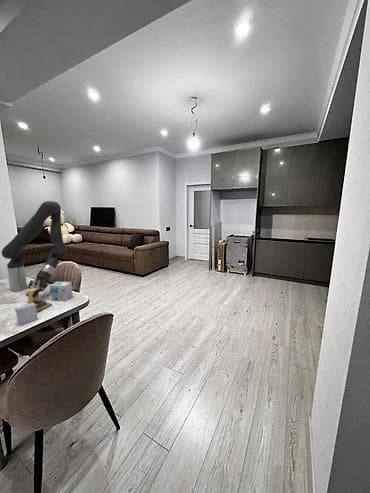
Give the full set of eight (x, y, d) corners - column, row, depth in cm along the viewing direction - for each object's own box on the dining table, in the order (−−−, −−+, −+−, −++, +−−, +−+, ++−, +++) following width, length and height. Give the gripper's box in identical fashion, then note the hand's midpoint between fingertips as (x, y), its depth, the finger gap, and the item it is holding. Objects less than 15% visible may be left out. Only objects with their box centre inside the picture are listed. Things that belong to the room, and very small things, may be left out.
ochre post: (28, 302, 126) (27, 290, 125) (35, 299, 130) (33, 288, 129) (33, 303, 125) (31, 291, 124) (39, 300, 129) (38, 288, 128)
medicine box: (35, 316, 110) (33, 302, 108) (38, 319, 107) (35, 304, 106) (17, 322, 104) (14, 307, 102) (19, 325, 101) (17, 310, 100)
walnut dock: (17, 312, 114) (16, 306, 114) (37, 302, 126) (36, 297, 125) (33, 315, 111) (32, 309, 111) (52, 305, 123) (51, 300, 122)
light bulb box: (51, 300, 129) (49, 285, 127) (57, 296, 135) (56, 281, 133) (67, 301, 128) (65, 285, 126) (73, 296, 135) (71, 281, 133)
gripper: (33, 268, 133) (17, 293, 124) (50, 271, 129) (34, 295, 120) (42, 274, 139) (26, 297, 130) (58, 276, 135) (43, 300, 126)
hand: (30, 296), depth 125 cm, fingers open, 4 cm apart
